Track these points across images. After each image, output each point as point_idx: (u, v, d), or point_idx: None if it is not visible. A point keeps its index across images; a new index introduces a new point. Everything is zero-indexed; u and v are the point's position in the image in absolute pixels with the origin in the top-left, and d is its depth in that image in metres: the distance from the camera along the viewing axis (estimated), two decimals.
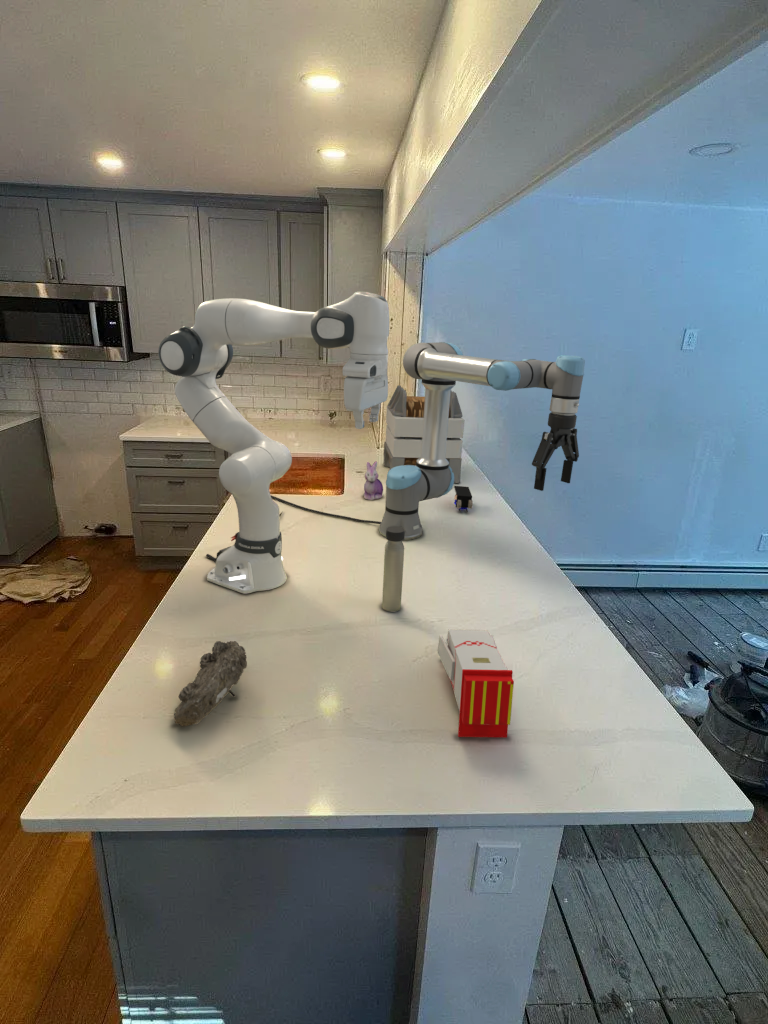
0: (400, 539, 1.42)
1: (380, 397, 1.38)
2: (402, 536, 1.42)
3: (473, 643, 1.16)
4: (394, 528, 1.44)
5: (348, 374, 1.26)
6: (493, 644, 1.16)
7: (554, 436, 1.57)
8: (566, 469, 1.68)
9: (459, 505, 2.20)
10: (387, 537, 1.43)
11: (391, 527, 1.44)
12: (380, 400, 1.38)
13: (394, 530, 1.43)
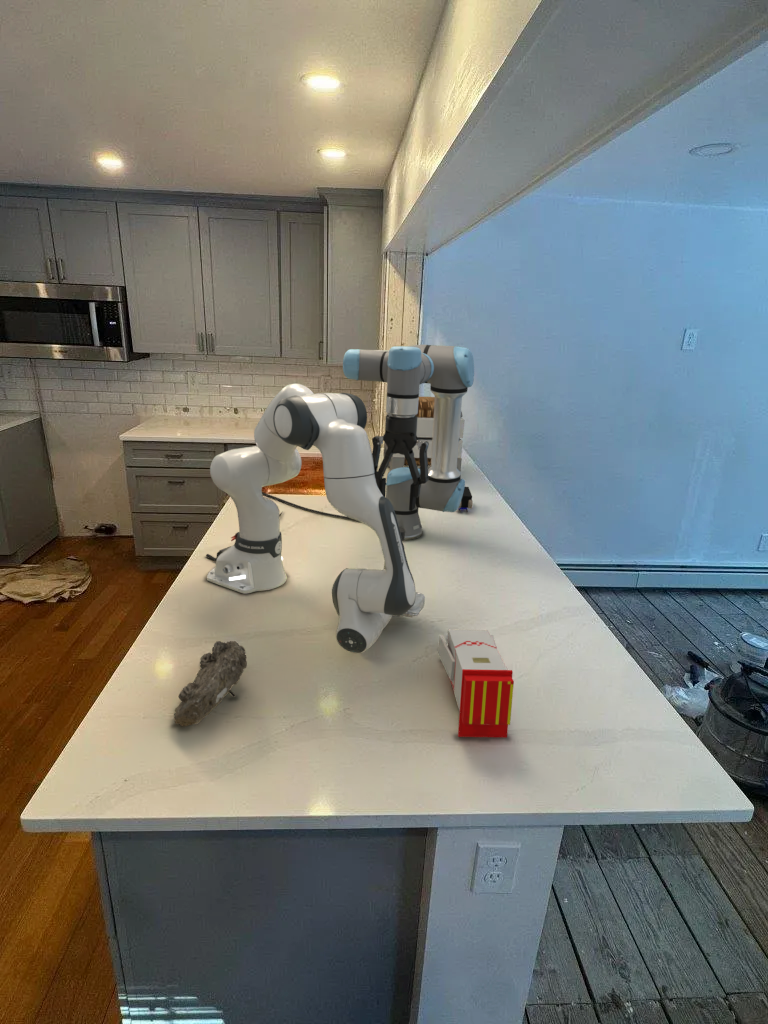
0: None
1: None
2: (402, 536, 1.42)
3: (473, 643, 1.16)
4: None
5: None
6: (493, 644, 1.16)
7: None
8: (383, 489, 1.41)
9: (459, 505, 2.20)
10: None
11: None
12: None
13: None
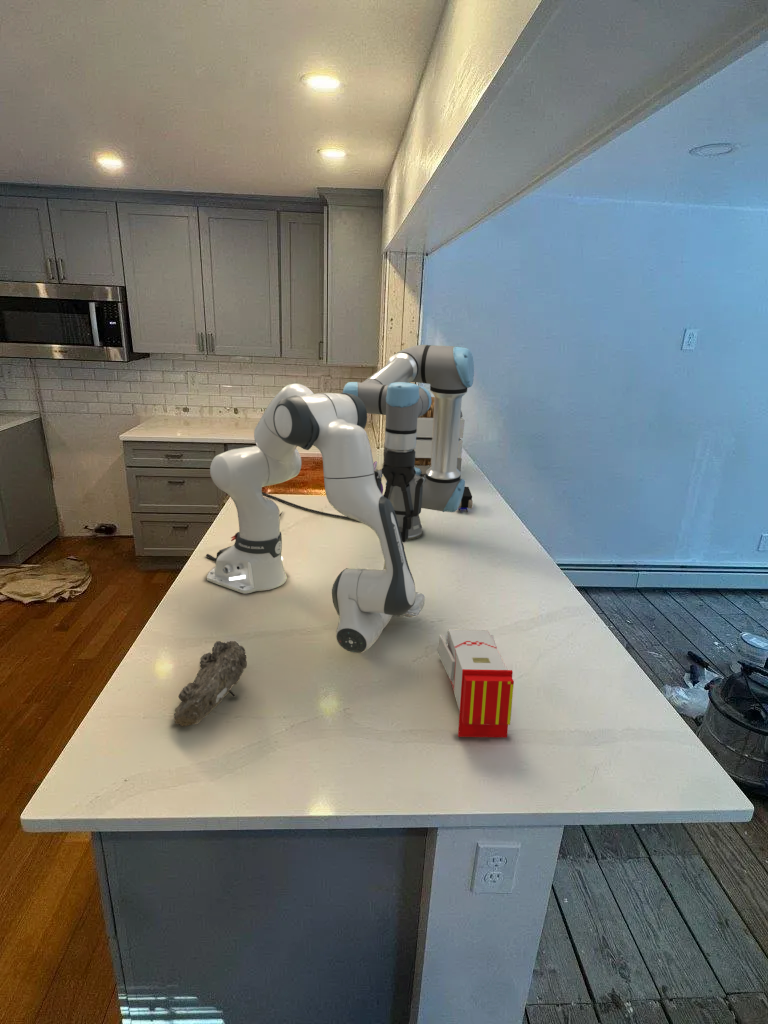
0: None
1: None
2: None
3: (473, 643, 1.16)
4: None
5: None
6: (493, 644, 1.16)
7: None
8: None
9: (459, 505, 2.20)
10: None
11: None
12: None
13: None
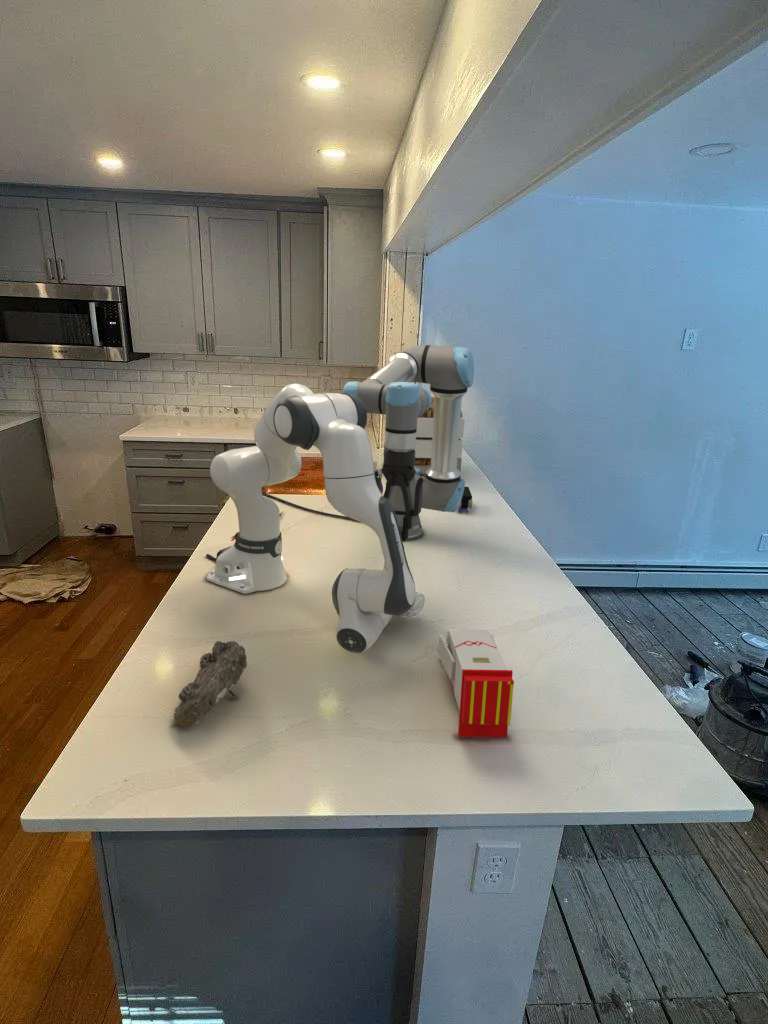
0: None
1: None
2: None
3: (473, 643, 1.16)
4: None
5: None
6: (493, 644, 1.16)
7: None
8: None
9: (459, 505, 2.20)
10: None
11: None
12: None
13: None
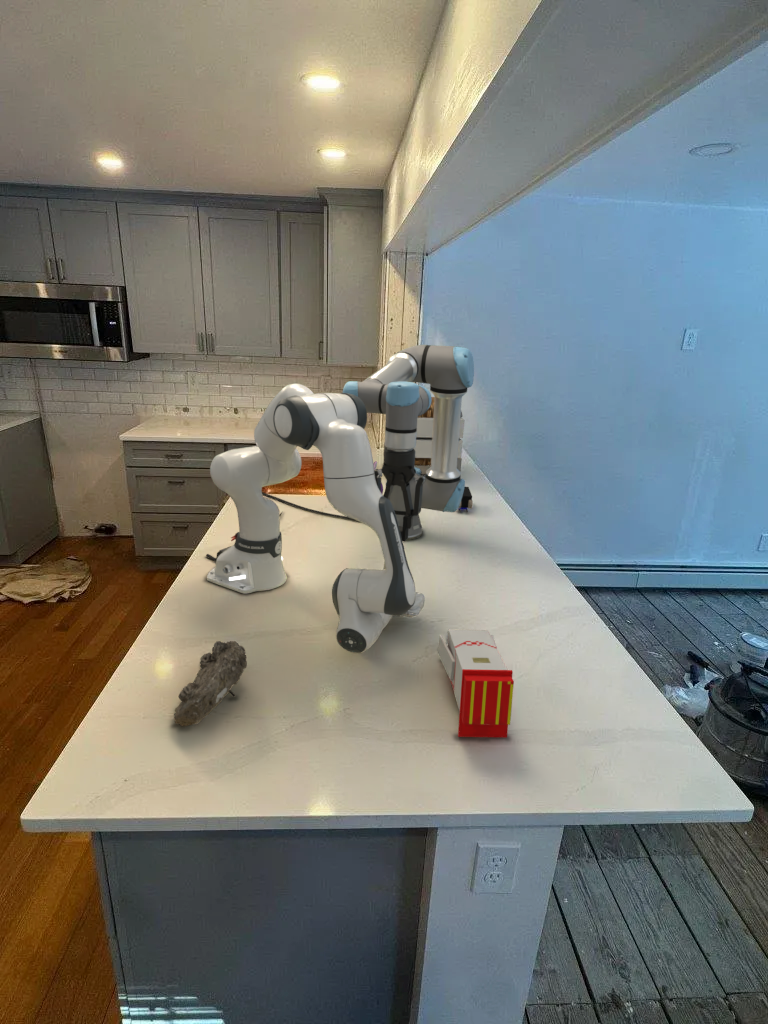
0: None
1: None
2: None
3: (473, 643, 1.16)
4: None
5: None
6: (493, 644, 1.16)
7: None
8: None
9: (459, 505, 2.20)
10: None
11: (401, 529, 1.43)
12: None
13: None
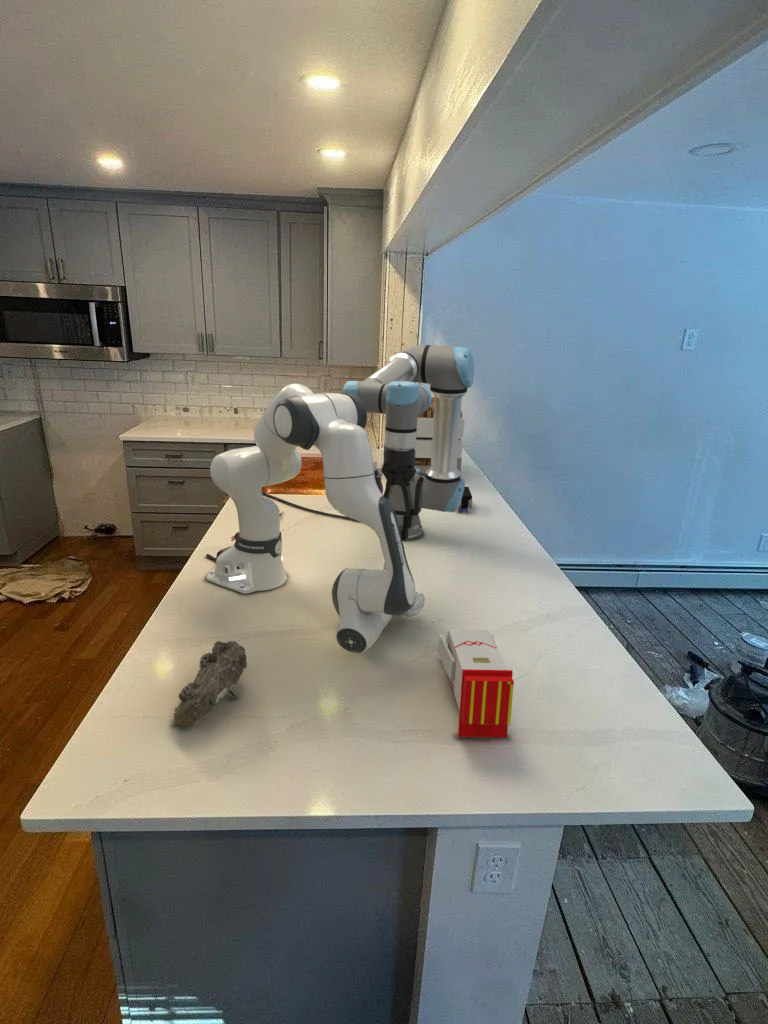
0: None
1: None
2: None
3: (473, 643, 1.16)
4: None
5: None
6: (493, 644, 1.16)
7: None
8: None
9: (459, 505, 2.20)
10: None
11: None
12: None
13: None
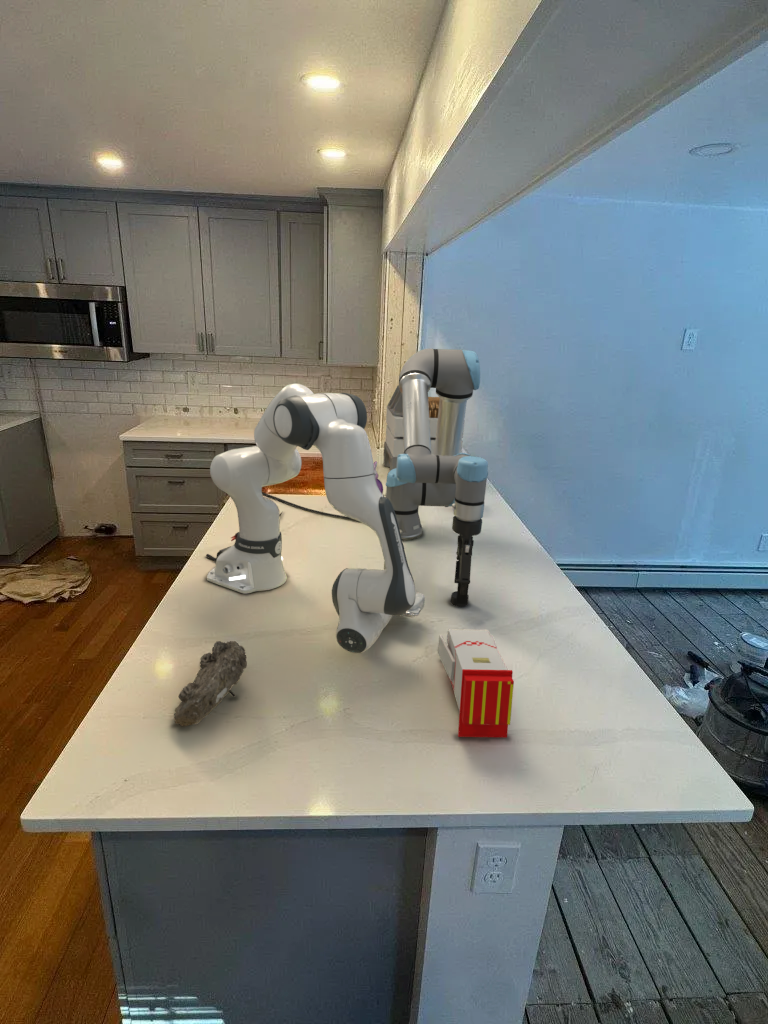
0: None
1: None
2: None
3: (473, 643, 1.16)
4: None
5: None
6: (493, 644, 1.16)
7: None
8: None
9: None
10: (460, 605, 1.52)
11: (454, 595, 1.53)
12: None
13: None
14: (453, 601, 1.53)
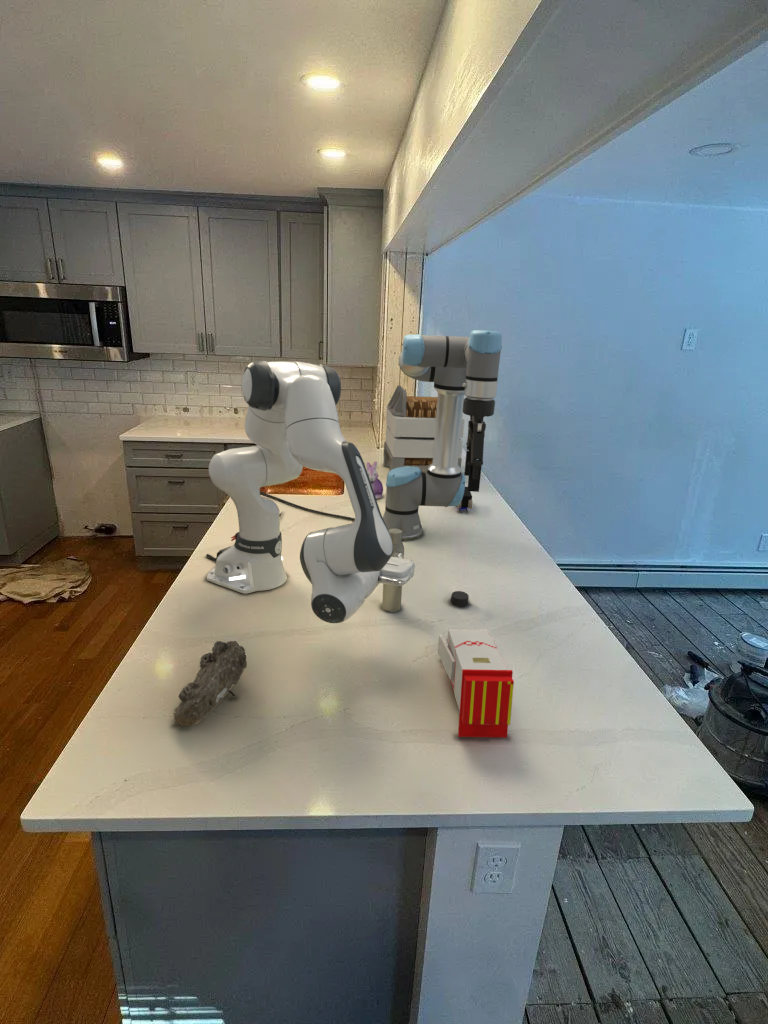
0: None
1: None
2: None
3: (473, 643, 1.16)
4: (457, 594, 1.54)
5: None
6: (493, 644, 1.16)
7: None
8: None
9: (459, 505, 2.20)
10: (460, 605, 1.52)
11: (454, 595, 1.53)
12: None
13: (462, 596, 1.53)
14: (453, 601, 1.53)
